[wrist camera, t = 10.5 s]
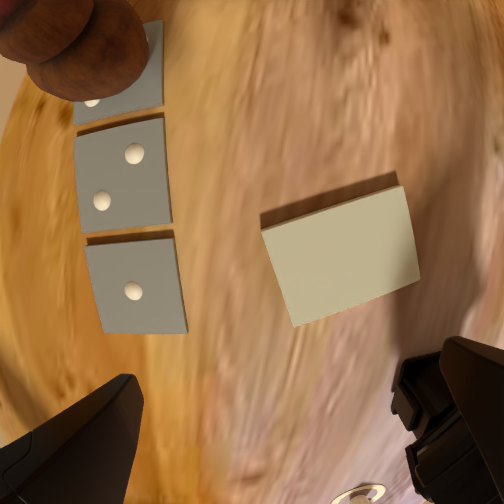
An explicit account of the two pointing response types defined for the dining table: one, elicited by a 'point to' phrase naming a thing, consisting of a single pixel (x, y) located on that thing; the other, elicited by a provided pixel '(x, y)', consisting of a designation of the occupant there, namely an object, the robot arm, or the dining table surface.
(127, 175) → the pad
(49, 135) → the dining table surface
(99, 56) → the wooden figurine
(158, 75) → the pad
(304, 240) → the folded napkin
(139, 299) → the pad
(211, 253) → the dining table surface
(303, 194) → the dining table surface
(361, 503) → the teacup and saucer
